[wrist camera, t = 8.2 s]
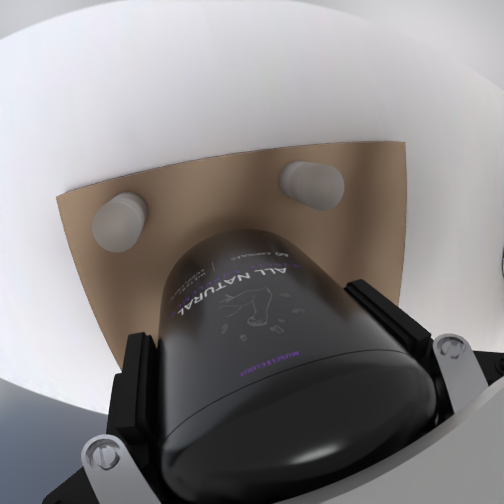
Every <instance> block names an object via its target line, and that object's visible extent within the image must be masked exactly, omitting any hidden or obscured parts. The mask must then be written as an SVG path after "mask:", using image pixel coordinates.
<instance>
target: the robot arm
mask: <svg viewBox="0 0 504 504" xmlns="http://www.w3.org/2000/svg"><path fill="white" fill-rule="evenodd" d="M503 273H504V260H503ZM343 289H344V290H345V291H346V292H348V293H349V294H350V295H351V296H352V297H353V298H354V299H355V300H356V301H357V302H358V303H359V304H360V305H361V306H362V307H363V308H364V309H365V310H367V311H368V312H369V313H370V314H371V315H372V316H373V317H374V318H375V319H376V320H377V321H378V322H379V323H380V324H381V325H382V326H383V327H384V328H385V329H386V330H387V331H388V332H389V333H390V334H391V335H392V336H393V337H394V338H395V339H396V340H397V341H398V342H399V343H400V344H401V345H402V346H403V347H404V348H405V349H406V350H407V351H408V352H409V353H410V354H411V355H412V356H413V357H414V358H415V359H416V360H417V361H418V362H419V363H420V365H421V366H422V367H423V368H424V369H425V370H426V371H427V373H428V374H429V375H430V377H431V378H432V380H433V382H434V385H435V388H436V392H437V396H438V403H439V415H438V422H437V426H436V428H435V429H433V430H432V431H431V432H429V433H428V434H426V435H425V436H423V437H421V438H420V439H418V440H417V441H415V442H414V443H412V444H410V445H409V446H407V447H405V448H404V449H402V450H400V451H398V452H397V453H395V454H393V455H391V456H390V457H388V458H386V459H384V460H382V461H380V462H378V463H376V464H374V465H373V466H371V467H369V468H366V469H364V470H362V471H360V472H358V473H356V474H354V475H352V476H349V477H347V478H345V479H342V480H340V481H338V482H335V483H333V484H330V485H328V486H325V487H323V488H320V489H317V490H315V491H312V492H309V493H306V494H303V495H300V496H297V497H294V498H291V499H288V500H284V501H281V502H277V503H274V504H504V353H497V352H484V351H472V349H471V347H470V345H469V343H468V342H467V341H466V340H465V339H464V338H463V337H461V336H458V335H455V334H443V335H440V336H438V337H437V338H436V339H435V340H433V339H432V338H431V333H429V332H428V331H427V330H426V329H425V328H423V327H422V326H421V325H420V324H419V323H417V322H416V321H415V320H414V319H412V318H411V317H410V316H409V315H408V314H406V313H405V312H404V311H403V310H401V309H400V308H399V307H398V306H396V305H395V304H394V303H393V302H391V301H390V300H389V299H388V298H386V297H385V296H384V295H382V294H381V293H380V292H379V291H377V290H376V289H375V288H374V287H372V286H371V285H370V284H368V283H367V282H366V281H364V280H363V279H358V280H354V281H351V282H348V283H347V284H346V287H344V288H343ZM156 361H157V348H156V345H155V343H154V341H153V338H152V336H151V335H146V334H145V332H139V333H134V334H129V335H128V338H127V344H126V349H125V355H124V361H123V367H122V373H118V374H116V375H115V377H114V381H113V387H112V393H111V400H110V407H109V414H108V422H107V430H106V435H99V436H96V437H94V438H92V439H91V440H89V441H88V442H87V443H86V444H85V446H84V448H83V450H82V455H81V459H82V464H83V467H82V468H81V469H79V470H78V471H77V472H76V473H75V474H73V475H72V476H71V477H70V478H68V479H67V480H66V481H65V482H64V483H62V484H61V485H60V486H59V487H57V488H56V489H55V490H54V491H52V492H51V493H50V494H48V495H47V496H46V498H44V500H43V502H42V504H169V503H168V501H167V500H166V498H165V497H164V495H163V493H162V491H161V488H160V485H159V482H158V475H157V466H156V446H155V387H156Z"/></svg>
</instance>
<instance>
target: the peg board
mask: <svg viewBox="0 0 504 504" xmlns="http://www.w3.org/2000/svg"><path fill="white" fill-rule="evenodd" d="M56 200H57V204H58V208H59V212H60V216H61V220H62V223H63V227H64V231H65V234H66V237H67V241H68V244H69V247H70V251H71V254H72V257H73V260H74V263H75V266H76V269H77V272H78V274H79V277H80V280H81V283H82V285H83V288H84V290H85V293H86V296H87V298H88V301H89V303H90V306H91V308H92V310H93V313H94V315H95V317H96V320H97V322H98V324H99V326H100V329H101V331H102V333H103V335H104V337H105V339H106V342H107V344H108V346H109V348H110V350H111V352H112V354H113V356H114V358H115V360H116V362H117V364H118V365H119V367H120V369H121V371H122V367H123V361H124V355H125V349H126V344H127V338H128V335H129V334H134V333H139V332H145V334H146V335H151V336H152V338H153V341H154V343H155V345H156V348H157V343H158V328H159V316H160V306H161V298H162V293H163V289H164V285H165V283H166V280H167V277H168V275H169V273H170V271H171V270H172V268H173V267H174V265H175V264H176V263H177V261H178V260H179V259H180V258H181V257H182V256H183V255H184V254H185V253H186V252H187V251H188V250H189V249H190V248H191V247H193V246H194V245H196V244H197V243H199V242H200V241H202V240H204V239H206V238H208V237H210V236H212V235H215V234H218V233H221V232H225V231H229V230H235V229H258V230H264V231H268V232H271V233H274V234H277V235H279V236H281V237H283V238H285V239H287V240H288V241H290V242H291V243H293V244H294V245H296V246H297V247H298V248H299V249H300V250H301V251H303V252H304V253H305V254H306V255H307V256H309V257H310V258H311V259H312V260H313V261H314V262H315V263H316V264H317V265H318V266H320V267H321V268H322V269H323V270H324V271H325V272H326V273H327V274H328V275H329V276H330V277H331V278H333V279H334V280H335V281H336V282H337V283H338V284H339V285H340V286H341V287H342V288H344V287H346V284H347V283H348V282H351V281H354V280H358V279H363V280H364V281H366V282H367V283H368V284H370V285H371V286H372V287H374V288H375V289H376V290H377V291H379V292H380V293H381V294H382V295H384V296H385V297H386V298H388V299H389V300H390V301H391V302H393V303H394V304H395V305H396V306H398V303H399V296H400V288H401V280H402V270H403V260H404V248H405V232H406V203H407V180H406V151H405V142H396V141H369V142H344V143H327V144H313V145H302V146H291V147H281V148H273V149H264V150H256V151H249V152H242V153H235V154H228V155H222V156H216V157H210V158H204V159H199V160H193V161H188V162H183V163H178V164H173V165H168V166H164V167H159V168H155V169H150V170H146V171H142V172H137V173H133V174H129V175H125V176H121V177H118V178H114V179H110V180H106V181H103V182H99V183H96V184H92V185H89V186H85V187H82V188H79V189H75V190H72V191H69V192H66V193H64V194H61V195H59V196H57V197H56Z"/></svg>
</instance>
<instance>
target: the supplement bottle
mask: <svg viewBox="0 0 504 504" xmlns="http://www.w3.org/2000/svg"><path fill="white" fill-rule="evenodd" d="M438 415H439V403H438V396H437V392H436V388H435V385H434V382H433V380H432V378H431V377H430V375H429V374H428V373H427V371H426V370H425V369H424V368H423V367H422V366H421V365H420V363H419V362H418V361H417V360H416V359H415V358H414V357H413V356H412V355H411V354H410V353H409V352H408V351H407V350H406V349H405V348H404V347H403V346H402V345H401V344H400V343H399V342H398V341H397V340H396V339H395V338H394V337H393V336H392V335H391V334H390V333H389V332H388V331H387V330H386V329H385V328H384V327H383V326H382V325H381V324H380V323H379V322H378V321H377V320H376V319H375V318H374V317H373V316H372V315H371V314H370V313H369V312H368V311H367V310H365V309H364V308H363V307H362V306H361V305H360V304H359V303H358V302H357V301H356V300H355V299H354V298H353V297H352V296H351V295H350V294H349V293H348V292H346V291H345V290H344V289H343V288H342V287H341V286H340V285H339V284H338V283H337V282H336V281H335V280H334V279H333V278H331V277H330V276H329V275H328V274H327V273H326V272H325V271H324V270H323V269H322V268H321V267H320V266H318V265H317V264H316V263H315V262H314V261H313V260H312V259H311V258H310V257H309V256H307V255H306V254H305V253H304V252H303V251H301V250H300V249H299V248H298V247H297V246H296V245H294V244H293V243H291V242H290V241H288V240H287V239H285V238H283V237H281V236H279V235H277V234H274V233H271V232H268V231H264V230H258V229H235V230H229V231H225V232H221V233H218V234H215V235H212V236H210V237H208V238H206V239H204V240H202V241H200V242H199V243H197V244H196V245H194V246H193V247H191V248H190V249H189V250H188V251H187V252H186V253H185V254H184V255H183V256H182V257H181V258H180V259H179V260H178V261H177V263H176V264H175V265H174V267H173V268H172V270H171V271H170V273H169V275H168V277H167V280H166V283H165V285H164V289H163V293H162V298H161V306H160V316H159V328H158V343H157V361H156V387H155V446H156V466H157V475H158V482H159V485H160V488H161V491H162V493H163V495H164V497H165V498H166V500H167V501H168V503H169V504H274V503H277V502H281V501H284V500H288V499H291V498H294V497H297V496H300V495H303V494H306V493H309V492H312V491H315V490H317V489H320V488H323V487H325V486H328V485H330V484H333V483H335V482H338V481H340V480H342V479H345V478H347V477H349V476H352V475H354V474H356V473H358V472H360V471H362V470H364V469H366V468H369V467H371V466H373V465H374V464H376V463H378V462H380V461H382V460H384V459H386V458H388V457H390V456H391V455H393V454H395V453H397V452H398V451H400V450H402V449H404V448H405V447H407V446H409V445H410V444H412V443H414V442H415V441H417V440H418V439H420V438H421V437H423V436H425V435H426V434H428V433H429V432H431V431H432V430H433V429H435V428H436V426H437V422H438Z"/></svg>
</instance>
